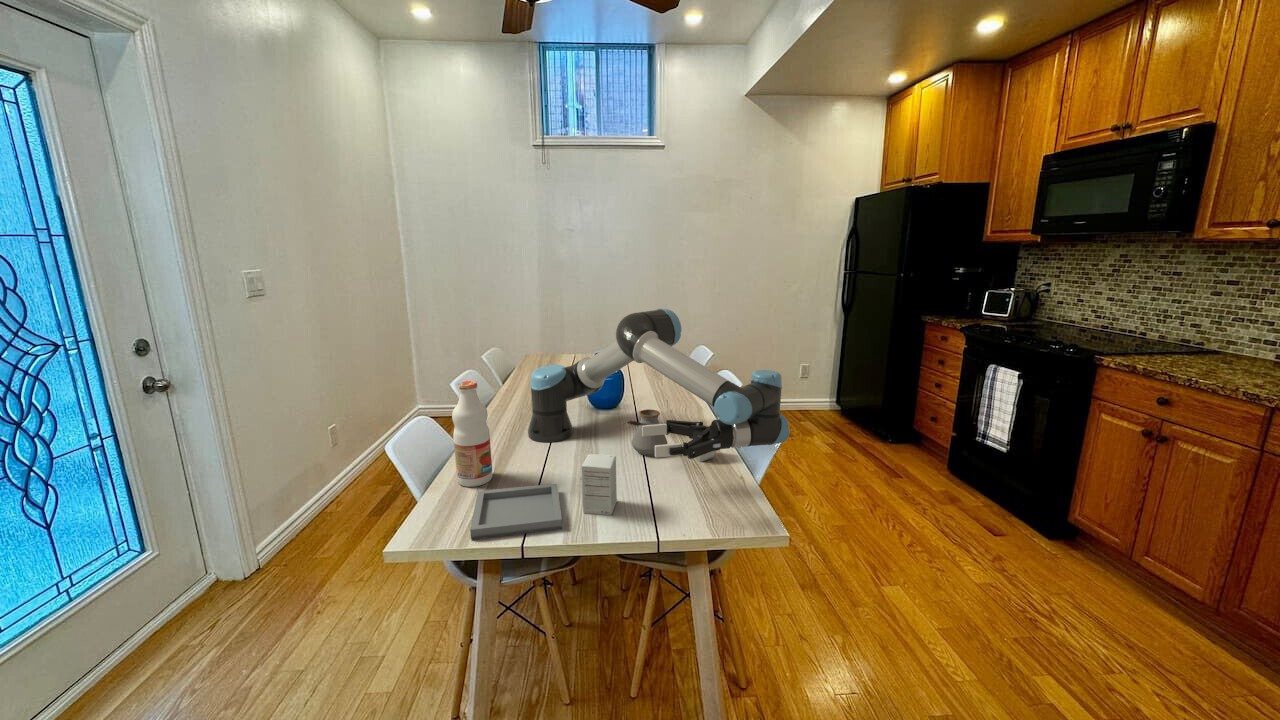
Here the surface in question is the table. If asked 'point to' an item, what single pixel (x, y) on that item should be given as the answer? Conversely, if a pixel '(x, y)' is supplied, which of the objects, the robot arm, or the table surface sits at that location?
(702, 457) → the die
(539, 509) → the tray
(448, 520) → the table surface
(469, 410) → the fruit juice
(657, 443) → the coffee pot
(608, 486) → the supplement box
